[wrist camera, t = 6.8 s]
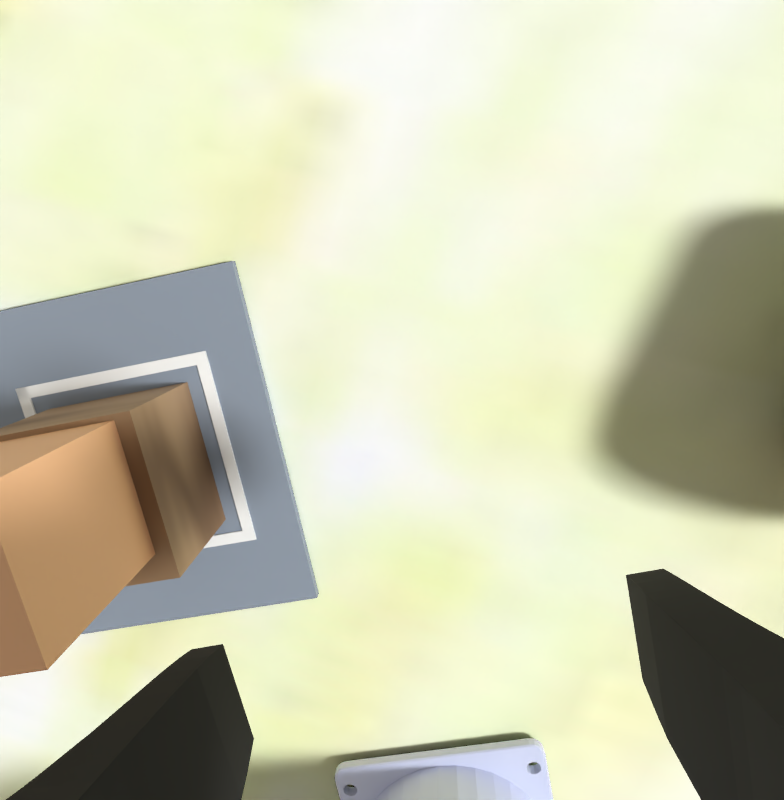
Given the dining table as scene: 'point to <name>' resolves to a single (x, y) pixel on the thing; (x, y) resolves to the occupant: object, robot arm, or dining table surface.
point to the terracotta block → (63, 539)
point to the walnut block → (153, 468)
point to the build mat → (216, 411)
